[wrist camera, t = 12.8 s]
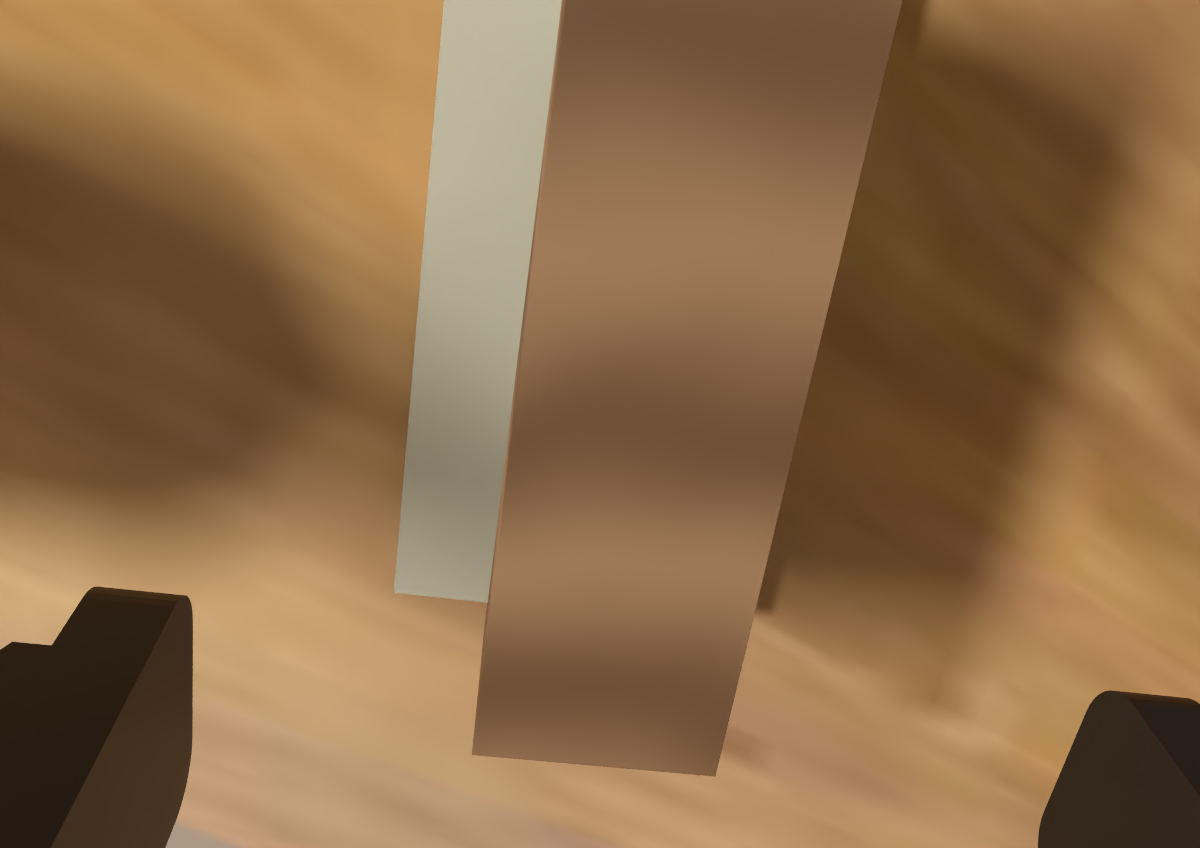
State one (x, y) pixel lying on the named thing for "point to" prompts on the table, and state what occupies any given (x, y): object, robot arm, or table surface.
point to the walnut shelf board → (666, 362)
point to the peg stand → (473, 288)
